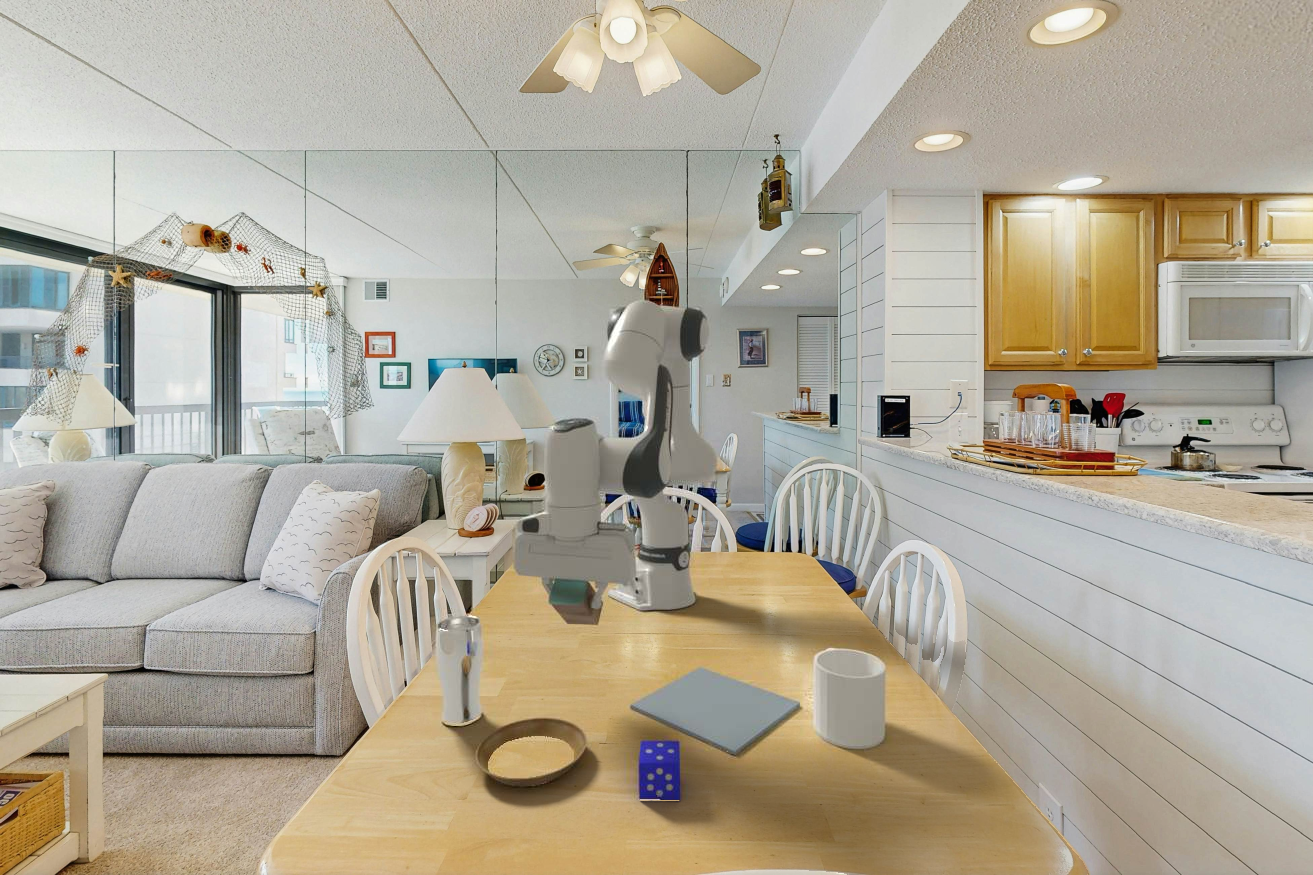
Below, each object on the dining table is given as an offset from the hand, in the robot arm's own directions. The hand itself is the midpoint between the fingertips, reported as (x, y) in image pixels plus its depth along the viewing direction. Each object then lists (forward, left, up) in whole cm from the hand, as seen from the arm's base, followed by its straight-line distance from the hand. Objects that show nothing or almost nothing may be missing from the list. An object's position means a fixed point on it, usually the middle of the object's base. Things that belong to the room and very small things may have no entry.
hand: (575, 605), depth 99 cm
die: (+25, -8, -16) cm, 31 cm away
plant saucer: (+8, -15, -16) cm, 24 cm away
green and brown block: (-1, +3, -2) cm, 4 cm away
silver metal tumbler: (-10, -15, -16) cm, 24 cm away
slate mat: (+18, +13, -16) cm, 27 cm away
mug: (+36, +21, -16) cm, 45 cm away
